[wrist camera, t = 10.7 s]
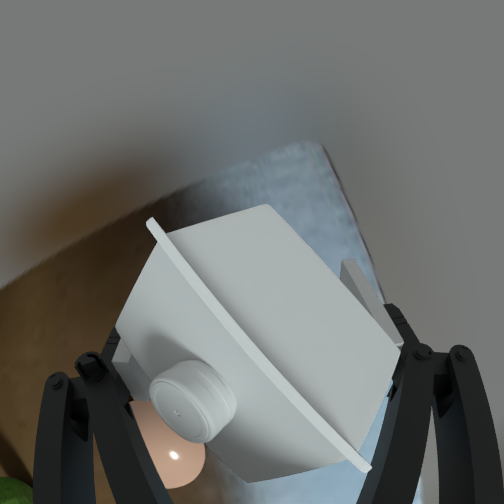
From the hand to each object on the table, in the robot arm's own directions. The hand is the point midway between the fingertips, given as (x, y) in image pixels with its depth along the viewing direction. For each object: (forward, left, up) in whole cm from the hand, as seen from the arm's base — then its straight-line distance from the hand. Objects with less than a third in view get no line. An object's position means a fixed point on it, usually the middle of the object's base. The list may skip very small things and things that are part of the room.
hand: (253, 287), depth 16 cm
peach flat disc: (-2, -19, -13) cm, 23 cm away
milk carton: (+2, -3, -9) cm, 9 cm away
